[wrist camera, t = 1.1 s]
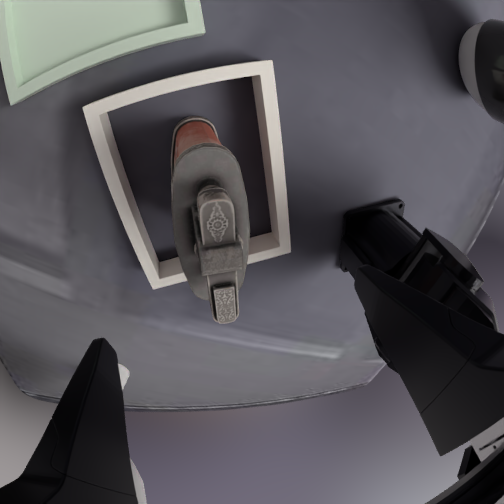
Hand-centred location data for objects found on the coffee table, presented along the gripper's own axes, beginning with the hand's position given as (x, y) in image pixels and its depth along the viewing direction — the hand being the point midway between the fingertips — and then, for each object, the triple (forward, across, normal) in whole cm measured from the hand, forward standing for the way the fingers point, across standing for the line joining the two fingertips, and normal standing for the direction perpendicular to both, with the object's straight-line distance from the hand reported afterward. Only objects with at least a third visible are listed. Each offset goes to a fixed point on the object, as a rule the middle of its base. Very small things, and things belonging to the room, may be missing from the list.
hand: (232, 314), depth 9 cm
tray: (+12, +4, -15) cm, 20 cm away
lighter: (+12, 0, 0) cm, 12 cm away
